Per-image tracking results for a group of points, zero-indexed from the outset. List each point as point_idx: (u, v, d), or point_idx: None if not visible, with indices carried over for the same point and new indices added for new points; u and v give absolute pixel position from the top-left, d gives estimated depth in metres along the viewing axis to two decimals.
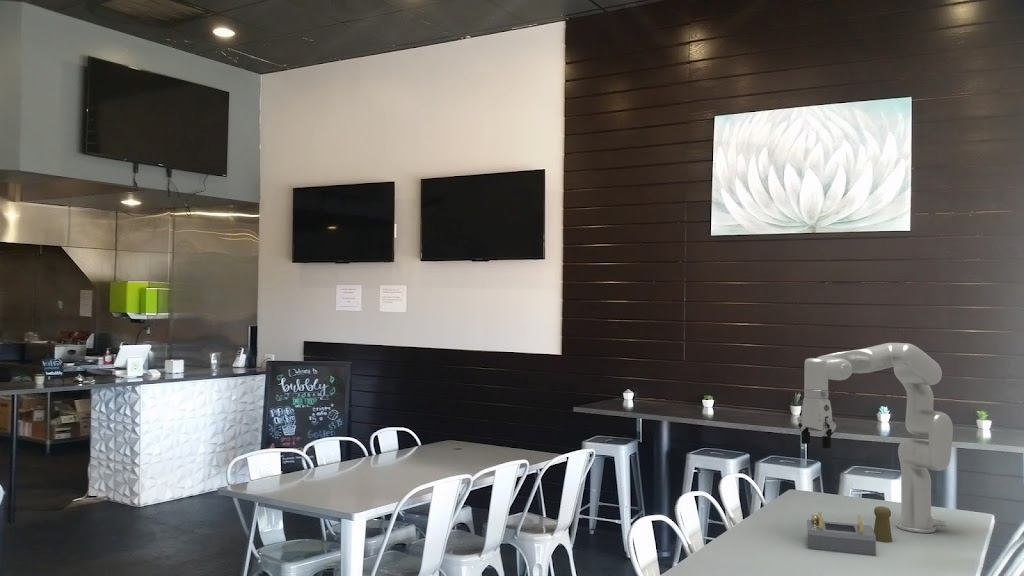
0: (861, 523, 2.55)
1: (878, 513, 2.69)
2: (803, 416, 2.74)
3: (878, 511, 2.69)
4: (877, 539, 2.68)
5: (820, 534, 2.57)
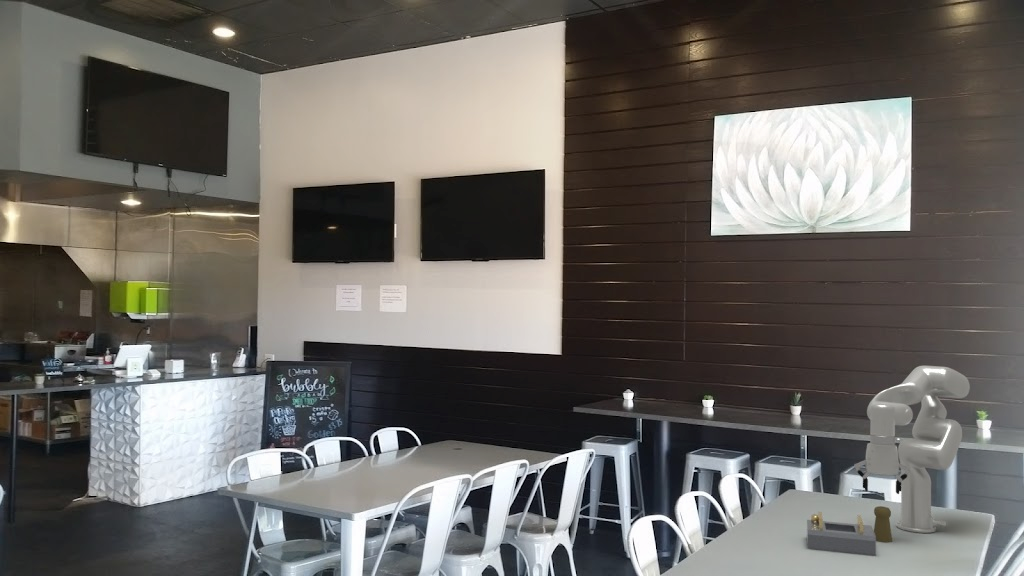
0: (861, 523, 2.55)
1: (878, 513, 2.69)
2: (871, 463, 2.70)
3: (878, 511, 2.69)
4: (877, 539, 2.68)
5: (820, 534, 2.57)
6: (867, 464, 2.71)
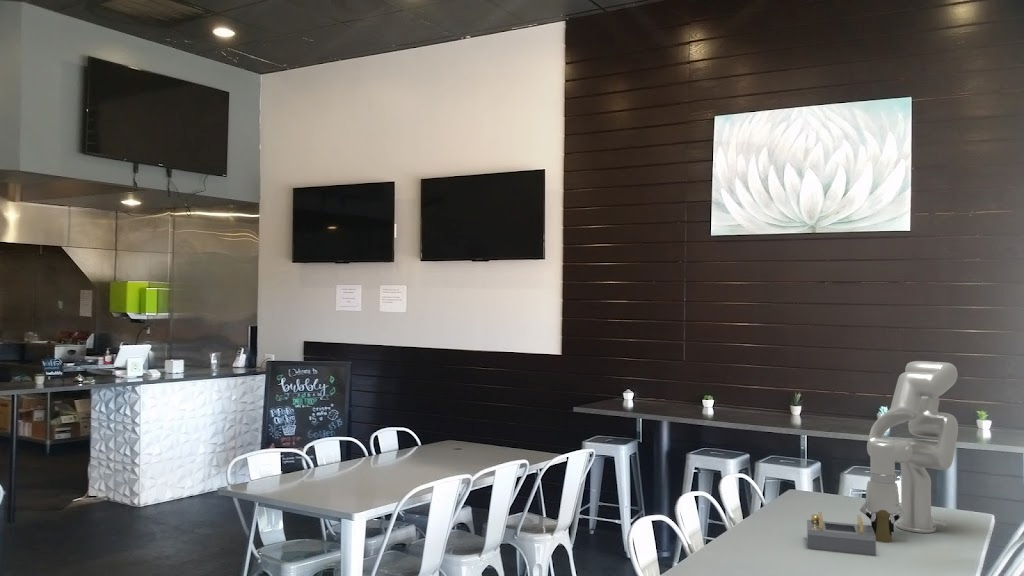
0: (861, 523, 2.55)
1: (878, 513, 2.69)
2: (871, 501, 2.70)
3: None
4: (877, 539, 2.68)
5: (820, 534, 2.57)
6: (867, 502, 2.70)
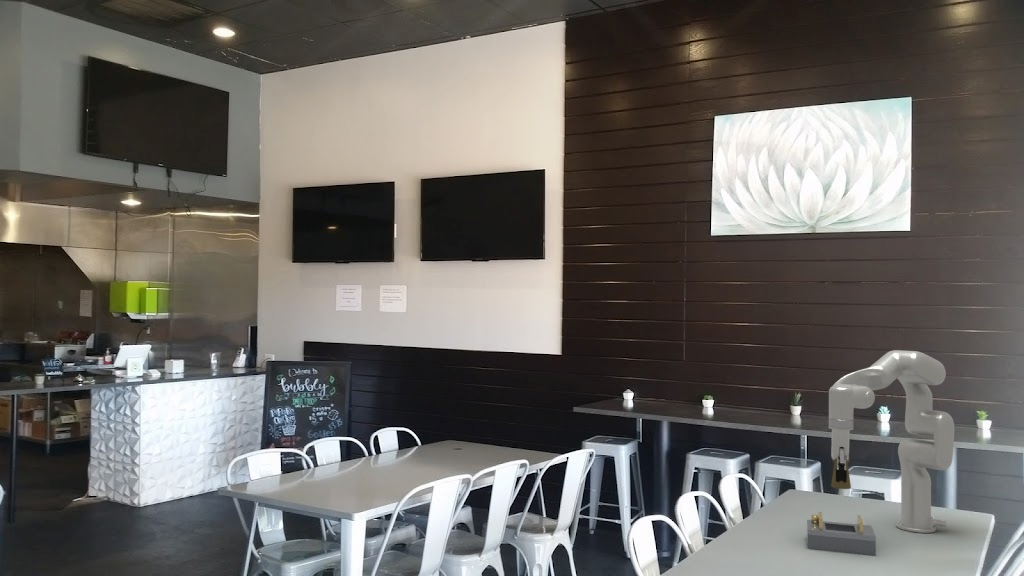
0: (861, 523, 2.55)
1: (848, 459, 2.61)
2: (848, 449, 2.59)
3: None
4: (849, 486, 2.60)
5: (820, 534, 2.57)
6: (848, 451, 2.58)
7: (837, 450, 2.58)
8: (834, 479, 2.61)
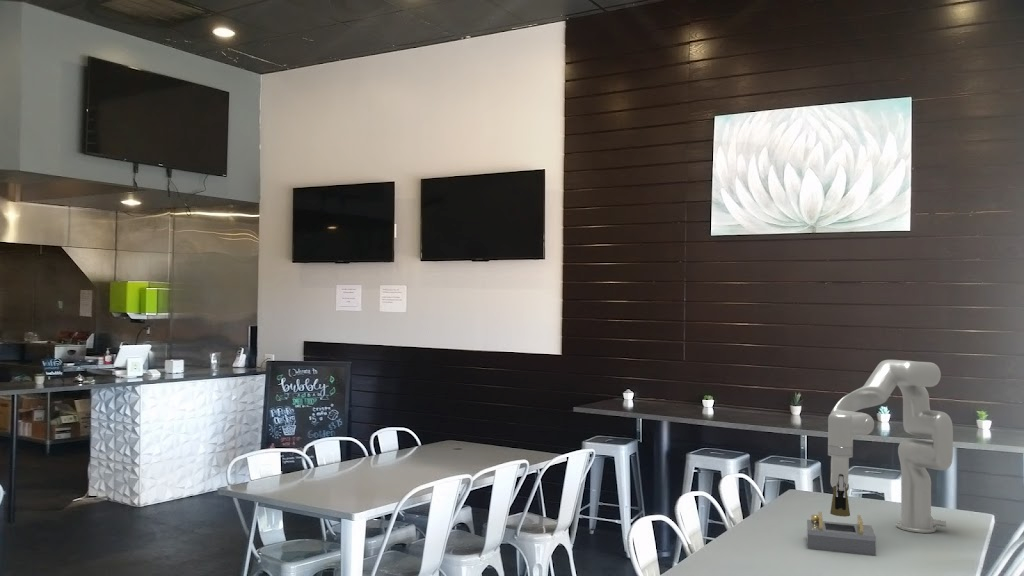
0: (861, 523, 2.55)
1: (847, 487, 2.60)
2: None
3: None
4: (848, 514, 2.59)
5: (820, 534, 2.57)
6: (847, 479, 2.57)
7: (836, 477, 2.58)
8: (833, 506, 2.61)
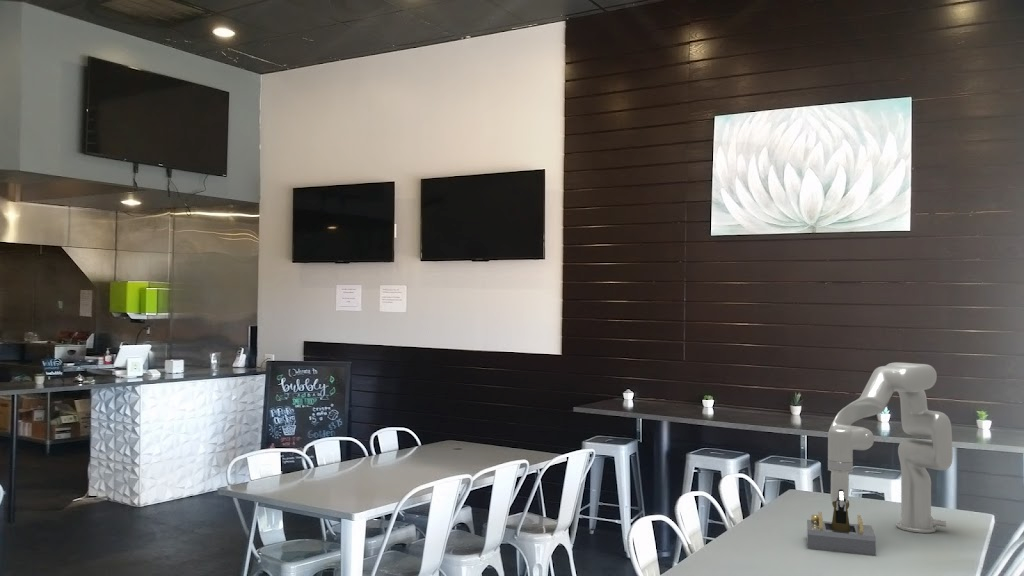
0: (861, 523, 2.55)
1: (848, 505, 2.60)
2: None
3: (848, 502, 2.60)
4: None
5: (820, 534, 2.57)
6: (847, 494, 2.57)
7: (836, 493, 2.58)
8: (834, 524, 2.61)
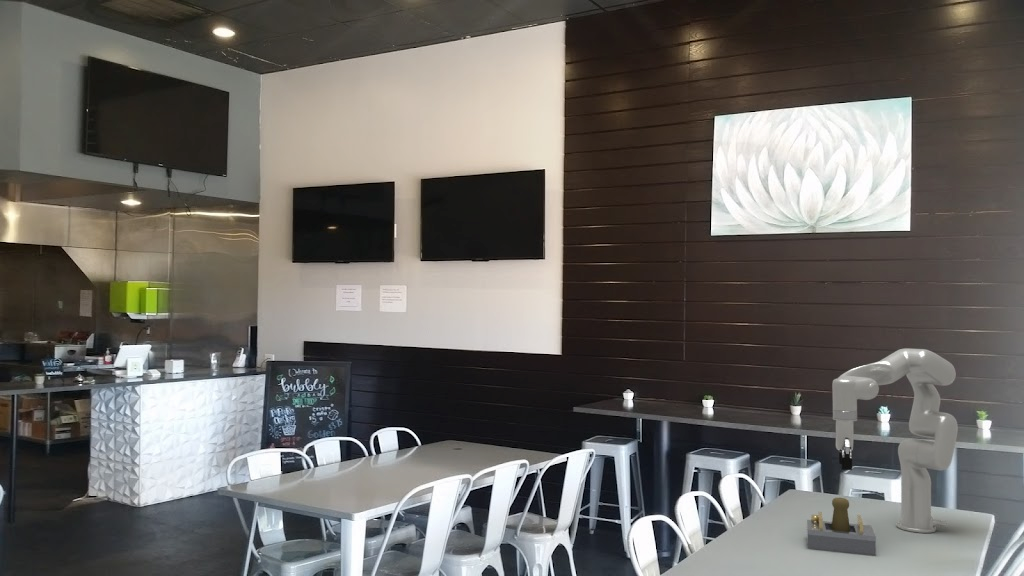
0: (861, 523, 2.55)
1: (848, 505, 2.60)
2: None
3: (847, 502, 2.60)
4: None
5: (820, 534, 2.57)
6: (852, 442, 2.64)
7: (842, 441, 2.64)
8: (834, 524, 2.61)
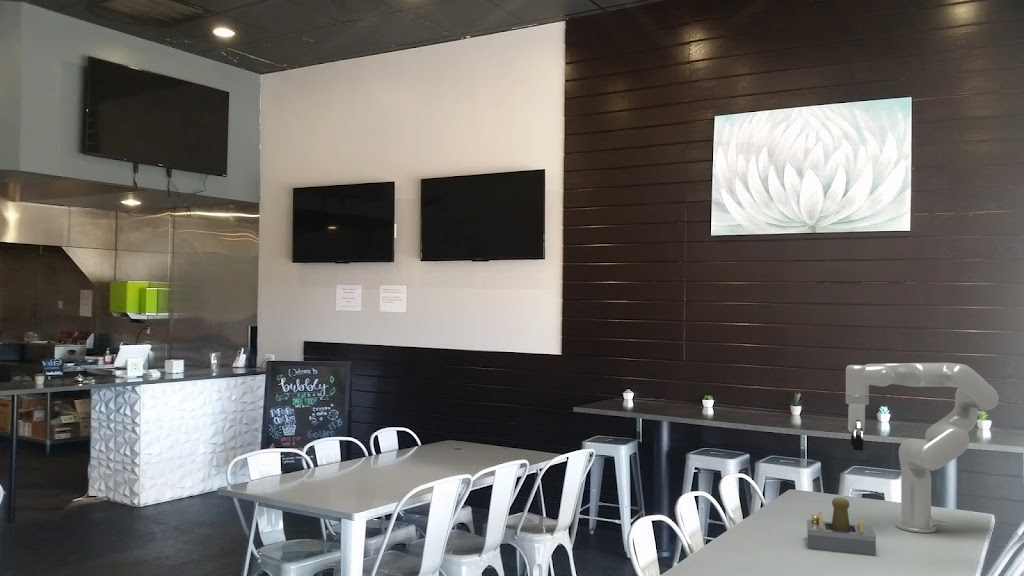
0: (861, 523, 2.55)
1: (848, 505, 2.60)
2: (864, 422, 2.82)
3: (847, 502, 2.60)
4: None
5: (820, 534, 2.57)
6: (863, 424, 2.81)
7: (854, 423, 2.82)
8: (834, 524, 2.61)
